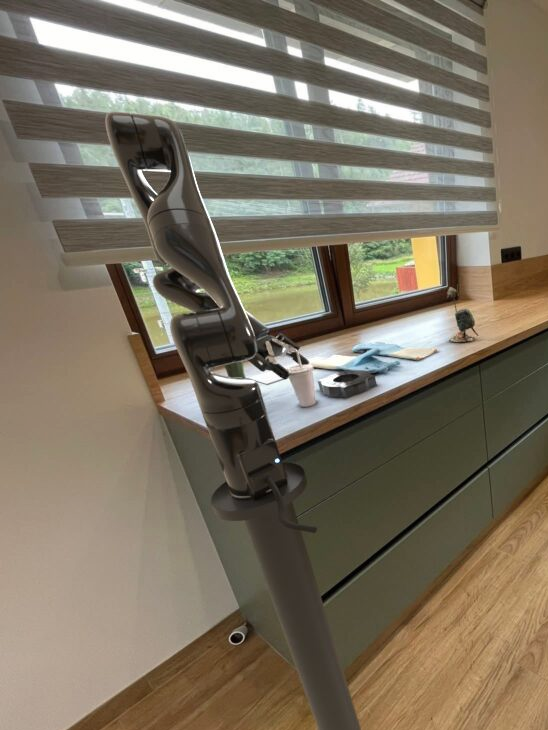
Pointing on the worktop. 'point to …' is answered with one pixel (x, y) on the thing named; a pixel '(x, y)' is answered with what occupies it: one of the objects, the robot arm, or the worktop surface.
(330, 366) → the rubber gloves
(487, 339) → the worktop surface
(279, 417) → the worktop surface
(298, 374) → the smoothie
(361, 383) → the board
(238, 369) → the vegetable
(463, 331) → the ostrich figurine
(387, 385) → the worktop surface
